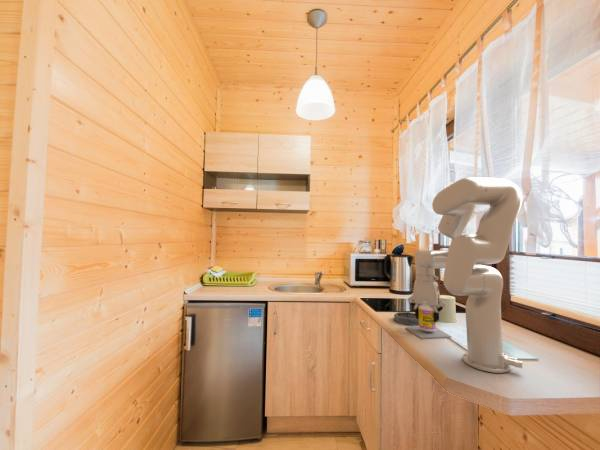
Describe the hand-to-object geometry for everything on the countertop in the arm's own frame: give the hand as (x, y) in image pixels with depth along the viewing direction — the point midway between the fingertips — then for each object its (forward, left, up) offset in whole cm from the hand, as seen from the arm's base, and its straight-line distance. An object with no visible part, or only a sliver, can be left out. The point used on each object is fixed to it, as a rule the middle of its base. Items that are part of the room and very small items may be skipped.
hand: (427, 319), depth 113 cm
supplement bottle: (0, 0, -4) cm, 4 cm away
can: (-1, -26, -6) cm, 27 cm away
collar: (+12, -11, -6) cm, 17 cm away
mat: (0, 0, -6) cm, 6 cm away
